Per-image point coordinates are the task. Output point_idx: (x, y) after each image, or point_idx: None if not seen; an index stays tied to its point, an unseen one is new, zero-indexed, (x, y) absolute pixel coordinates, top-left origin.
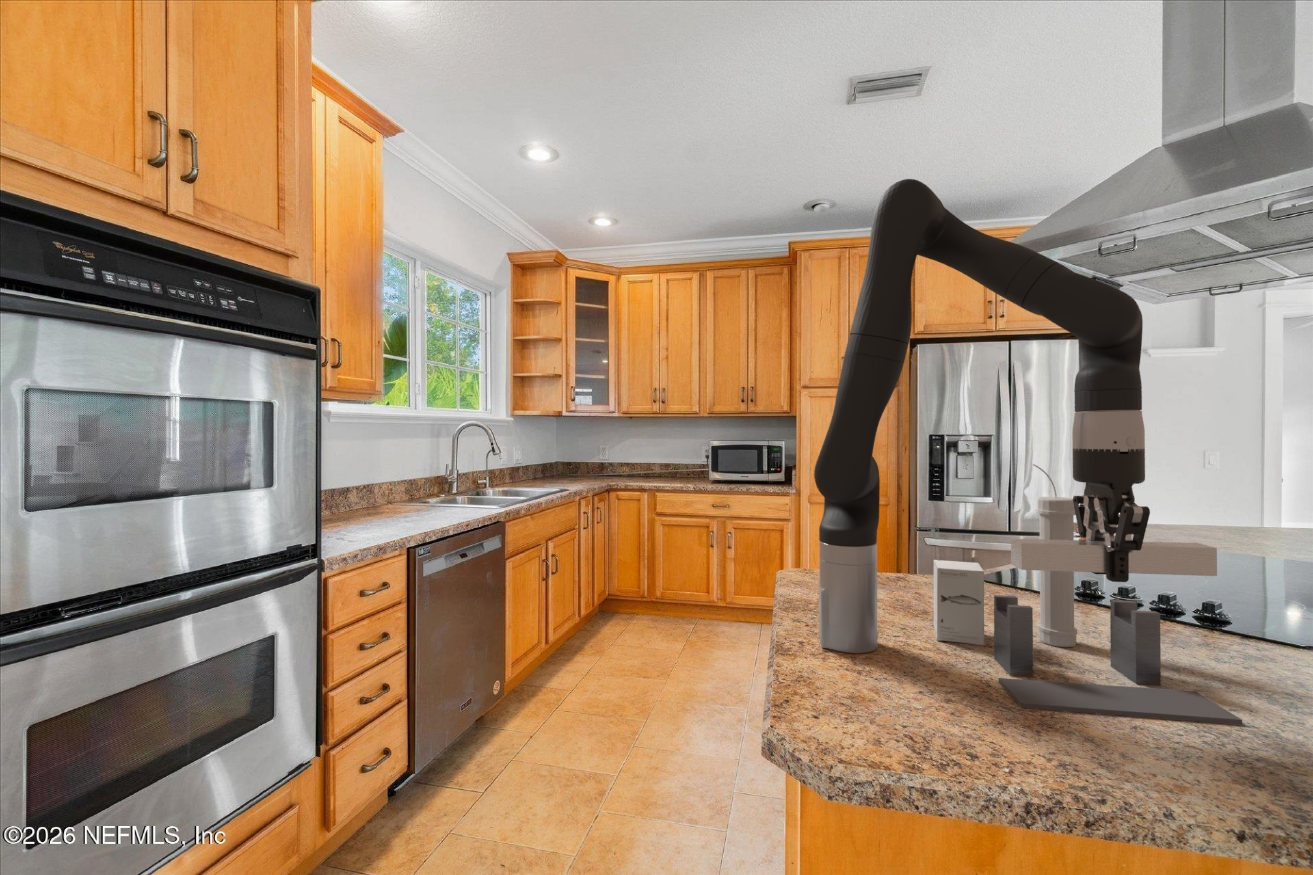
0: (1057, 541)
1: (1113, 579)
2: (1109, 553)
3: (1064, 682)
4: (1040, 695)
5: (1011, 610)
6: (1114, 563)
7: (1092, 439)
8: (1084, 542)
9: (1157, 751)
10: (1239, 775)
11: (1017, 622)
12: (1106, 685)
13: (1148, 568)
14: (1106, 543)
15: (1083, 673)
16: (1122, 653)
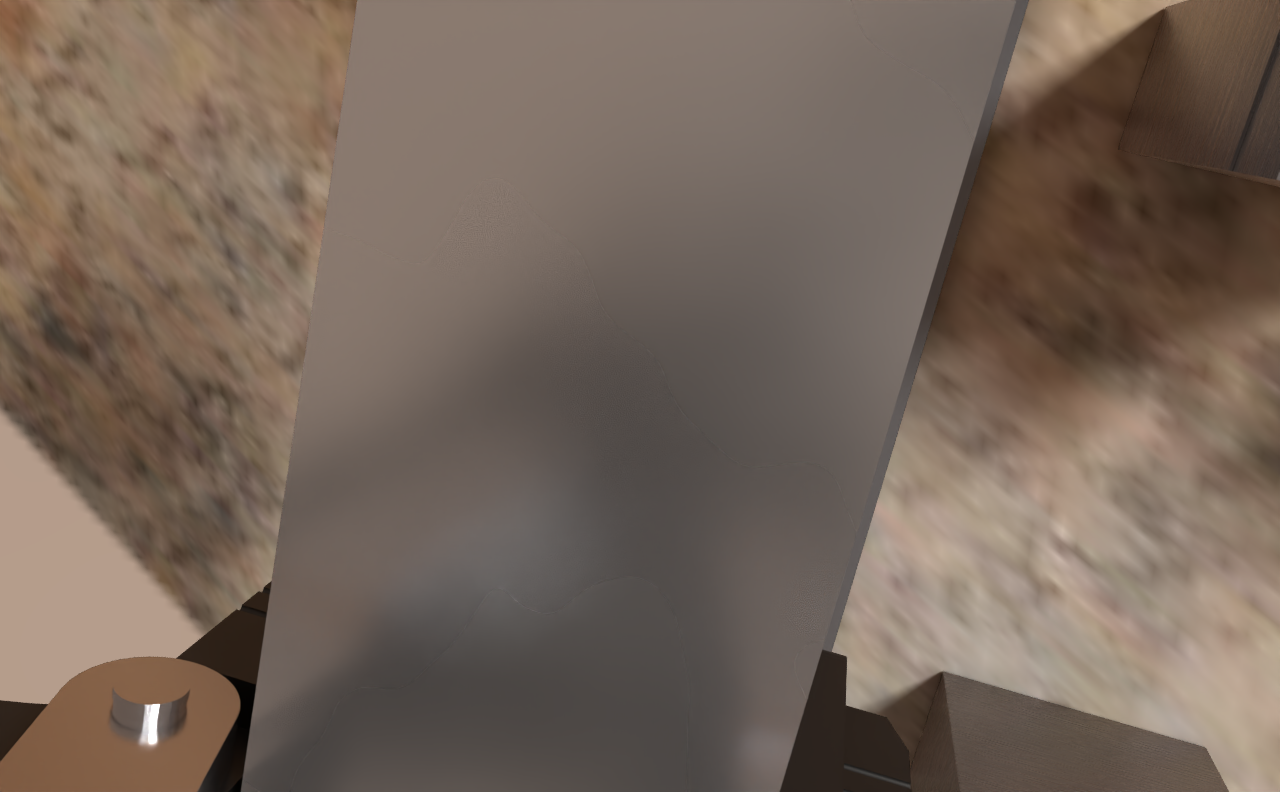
0: (701, 139)
1: None
2: (232, 677)
3: (952, 248)
4: None
5: None
6: (250, 633)
7: None
8: (542, 617)
9: (266, 164)
10: (112, 330)
11: (1270, 35)
12: (885, 459)
13: None
14: (178, 750)
15: (1126, 506)
16: (1099, 778)
